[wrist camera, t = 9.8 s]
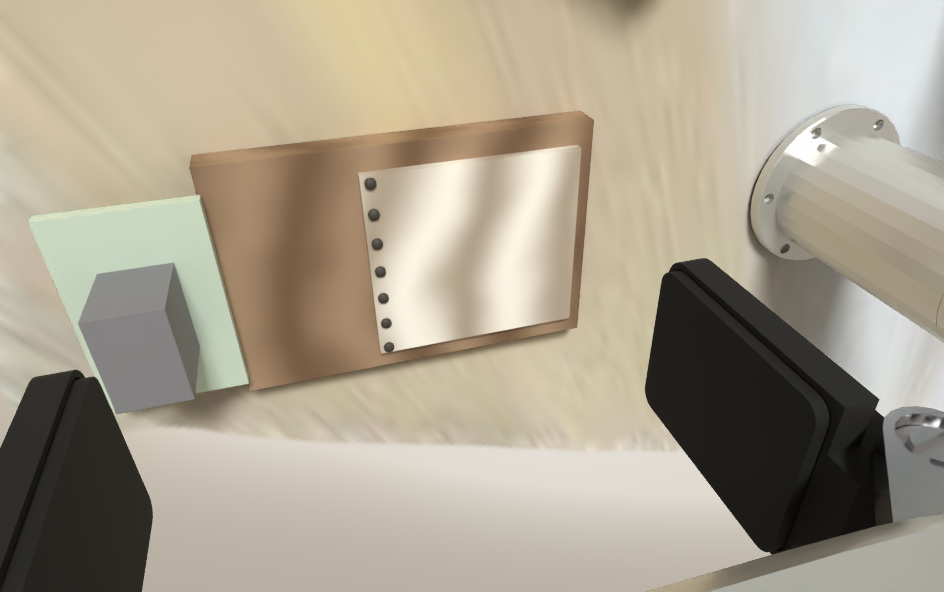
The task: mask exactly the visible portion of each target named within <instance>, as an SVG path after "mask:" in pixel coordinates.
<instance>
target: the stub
mask: <svg viewBox="0 0 944 592" xmlns="http://www.w3.org/2000/svg"><path fill="white" fill-rule="evenodd" d="M28 224H29V226H30V228H31V231H32V233H33V235H34V238H35V240H36V242H37V245H38V247H39V249H40V251H41V254H42V256H43V258H44V261H45V263H46V265H47V268H48V270H49V272H50V274H51V277H52V279H53V281H54V284H55V286H56V288H57V291H58V293H59V295H60V298H61V300H62V302H63V304H64V307H65V309H66V311H67V314H68V316H69V318H70V321H71V323H72V325H73V327H74V330H75V332H76V334H77V337H78V339H79V341H80V344H81V346H82V348H83V351H84V353H85V355H86V357H87V360H88V362H89V364H90V367H91V369H92V371H93V374H94V376H95V377H96V378H97V379H98V381H99V382H100V384H101V386H102V389H103V391H104V393H105V396H106V398H107V400H108V403H109V405H110V407H111V409H112V410H113V409H115V412H116V414H121V413H126V412H131V411H137V410H142V409H147V408H152V407H157V406H162V405H168V404H173V403H178V402H183V401H188V400H194V399H195V394H197V393H202V392H207V391H212V390H218V389H223V388H228V387H233V386H239V385H244V384H249V375H248V371H247V367H246V363H245V360H244V356H243V352H242V348H241V345H240V341H239V337H238V334H237V330H236V326H235V322H234V319H233V315H232V311H231V307H230V304H229V300H228V296H227V293H226V289H225V285H224V281H223V278H222V274H221V270H220V266H219V263H218V259H217V255H216V251H215V248H214V244H213V240H212V237H211V233H210V229H209V225H208V222H207V218H206V214H205V210H204V207H203V203H202V199H201V196H200V195H194V196H186V197H178V198H170V199H162V200H155V201H147V202H139V203H131V204H123V205H115V206H107V207H99V208H92V209H84V210H76V211H68V212H60V213H52V214H44V215H36V216H32V217H31V219H30V220H29V222H28Z"/></svg>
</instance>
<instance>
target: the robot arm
mask: <svg viewBox="0 0 944 592" xmlns="http://www.w3.org/2000/svg"><path fill="white" fill-rule="evenodd" d="M750 214H751V223H752V228H753V231H754V233H755V236H756V238H757V239H758V240H759V242H760V243H761V245H763V246H764V247H765V248H766V249H768V250H769V251H770V252H772V253H773V254H775V255H776V256H778V257H780V258H784V259H788V260H807V259H812V258H817V259H819V260H820V261H822V262H823V263H825V264H826V265H828V266H829V267H831V268H832V269H834V270H835V271H837V272H838V273H840V274H841V275H843V276H844V277H846V278H847V279H849V280H850V281H852V282H853V283H855V284H856V285H858V286H859V287H861V288H862V289H864V290H865V291H867V292H868V293H870V294H871V295H873V296H874V297H876V298H877V299H879V300H880V301H882V302H884V303H885V304H887V305H888V306H890V307H891V308H893V309H894V310H896V311H897V312H899V313H900V314H902V315H903V316H905V317H906V318H908V319H909V320H911V321H912V322H914V323H915V324H917V325H918V326H920V327H921V328H923V329H924V330H926V331H927V332H929V333H930V334H932V335H933V336H935V337H936V338H938V339H939V340H941V341H943V342H944V163H943V162H942V161H940V160H936V159H933V158H931V157H928V156H926V155H923V154H921V153H918V152H916V151H913V150H911V149H908V148H906V147H903V146H901V145H900V142H899V135H898V133H897V131H896V128H895V126H894V124H893V123H892V122H891V121H890V120H889V118H888V117H887V116H885V115H883V114H882V113H880V112H879V111H876V110H874V109H871V108H868V107H865V106H859V105H844V106H837V107H834V108H831V109H828V110H825V111H823V112H821V113H819V114H817V115H815V116H813V117H811V118H810V119H808V120H807V121H805V122H804V123H803V124H801V125H800V126H799V127H797V128H796V129H795V130H794V131H793V132H792V133H790V134H789V135H788V136H787V137H786V138H785V139H784V140H783V141H782V142H781V144H780V145H779V146H778V147H777V149H776V150H775V151H774V152H773V154H772V155H771V156H770V158H769V160H768V161H767V163H766V165H765V166H764V168H763V169H762V172H761V174H760V176H759V178H758V181H757V183H756V186H755V189H754V193H753V197H752V202H751V212H750ZM645 394H646V398H647V401H648V403H649V405H650V407H651V408H652V409H653V411H654V412H655V413H656V415H657V416H658V417H659V419H660V420H661V421H662V423H663V424H664V425H665V427H666V428H667V429H668V430H669V432H670V433H671V434H672V436H673V437H674V438H675V440H676V441H677V442H678V444H679V445H680V446H681V447H682V449H683V450H684V451H685V453H686V454H687V455H688V457H689V458H690V459H691V461H692V462H693V463H694V464H695V466H696V467H697V468H698V470H699V471H700V472H701V474H702V475H703V476H704V478H705V479H706V480H707V481H708V483H709V484H710V485H711V487H712V488H713V489H714V491H715V492H716V493H717V495H718V496H719V497H720V498H721V500H722V501H723V502H724V504H725V505H726V506H727V508H728V509H729V510H730V512H732V514H733V515H734V517H735V518H736V519H737V521H738V522H739V523H740V525H741V526H742V527H743V529H744V530H745V531H746V532H747V534H748V535H749V536H750V538H751V539H752V540H753V542H754V543H755V544H756V545H757V546H758V548H760V549H761V550H762V551H765V552H770V553H771V554H772V555H770V556H767V557H763V558H759V559H756V560H753V561H749V562H746V563H743V564H739V565H736V566H732V567H729V568H726V569H722V570H719V571H715V572H712V573H708V574H705V575H701V576H698V577H695V578H691V579H688V580H685V581H681V582H678V583H674V584H671V585H667V586H664V587H660V588H657V589H654V590H651V591H647V592H944V412H942V411H939V410H936V409H931V408H924V407H917V406H915V407H901V408H899V409H896V410H893V411H891V412H890V413H889V414H888V415H887V416H886V417H885V418H884V417H883V416H882V415H881V414H879V413H878V412H877V411H876V410H875V409H876V406H877V404H878V401H879V399H878V398H877V397H876V396H875V395H873V394H872V393H871V392H870V391H869V390H867V389H866V388H865V387H864V386H862V385H861V384H860V383H859V382H858V381H856V380H855V379H854V378H853V377H852V376H850V375H849V374H848V373H847V372H845V371H844V370H843V369H842V368H841V367H839V366H838V365H837V364H836V363H835V362H833V361H832V360H831V359H830V358H828V357H827V356H826V355H825V354H824V353H822V352H821V351H820V350H819V349H817V348H816V347H815V346H814V345H813V344H811V343H810V342H809V341H808V340H807V339H805V338H804V337H803V336H802V335H800V334H799V333H798V332H797V331H796V330H794V329H793V328H792V327H791V326H789V325H788V324H787V323H786V322H785V321H783V320H782V319H781V318H780V317H779V316H777V315H776V314H775V313H774V312H772V311H771V310H770V309H769V308H768V307H766V306H765V305H764V304H763V303H761V302H760V301H759V300H758V299H757V298H755V297H754V296H753V295H752V294H751V293H749V292H748V291H747V290H746V289H744V288H743V287H742V286H741V285H740V284H738V283H737V282H736V281H735V280H733V279H732V278H731V277H730V276H729V275H727V274H726V273H725V272H724V271H723V270H721V269H720V268H719V267H718V266H716V265H715V264H714V263H713V262H712V261H710V260H708V259H706V258H701V259H696V260H690V261H685V262H679V263H675V264H674V265H672V267H671V268H670V271H669V272H668V273H666V274H665V275H664V276H663V278H662V282H661V289H660V295H659V301H658V308H657V314H656V320H655V327H654V333H653V340H652V346H651V352H650V359H649V365H648V371H647V378H646V384H645ZM152 519H153V512H152V505H151V500H150V497H149V495H148V492H147V490H146V488H145V485H144V483H143V481H142V479H141V476H140V474H139V472H138V469H137V467H136V465H135V462H134V460H133V458H132V455H131V453H130V451H129V449H128V446H127V444H126V442H125V439H124V437H123V435H122V432H121V430H120V428H119V426H118V423H117V421H116V419H115V416H114V414H113V412H112V409H111V407H110V405H109V403H108V400H107V398H106V396H105V393H104V391H103V389H102V386H101V384H100V382H99V381H98V379H97V378H96V377H88V378H85V377H84V375H83V374H82V373H81V372H80V371H78V370H72V371H66V372H60V373H55V374H49V375H44V376H38V377H34V378H32V379H31V381H30V382H29V384H28V386H27V389H26V391H25V393H24V395H23V398H22V400H21V402H20V404H19V407H18V409H17V411H16V414H15V416H14V418H13V421H12V423H11V425H10V427H9V429H8V432H7V434H6V436H5V439H4V441H3V443H2V445H1V448H0V592H142V585H143V580H144V573H145V567H146V560H147V553H148V547H149V540H150V533H151V527H152Z"/></svg>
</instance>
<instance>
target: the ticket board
mask: <svg viewBox="0 0 944 592" xmlns="http://www.w3.org/2000/svg"><path fill="white" fill-rule="evenodd" d="M593 124H594V120H593V119H592V118H590V117H589V116H587V115H586V114H584V113H583V112H581V111H576V112H567V113H558V114H549V115H541V116H532V117H523V118H514V119H505V120H497V121H488V122H479V123H470V124H462V125H453V126H444V127H435V128H426V129H418V130H409V131H400V132H391V133H382V134H374V135H365V136H356V137H347V138H339V139H330V140H321V141H312V142H303V143H295V144H286V145H277V146H268V147H259V148H251V149H242V150H233V151H224V152H216V153H207V154H198V155H192V158H191V162H190V167H189V168H190V172H191V175H192V179H193V183H194V186H195V190H196V194H197V195H200V196H201V199H202V203H203V207H204V210H205V214H206V218H207V222H208V225H209V229H210V233H211V237H212V240H213V244H214V248H215V251H216V255H217V259H218V263H219V266H220V270H221V274H222V278H223V281H224V285H225V289H226V293H227V296H228V300H229V304H230V307H231V311H232V315H233V319H234V322H235V326H236V330H237V334H238V337H239V341H240V345H241V348H242V352H243V356H244V360H245V363H246V367H247V371H248V375H249V384H248V385H249V389H250V391H253V390H258V389H263V388H268V387H273V386H279V385H284V384H289V383H294V382H299V381H304V380H309V379H315V378H320V377H325V376H330V375H335V374H340V373H346V372H351V371H356V370H361V369H366V368H371V367H377V366H382V365H387V364H392V363H397V362H402V361H408V360H413V359H418V358H423V357H428V356H433V355H439V354H444V353H449V352H454V351H459V350H464V349H469V348H475V347H480V346H485V345H490V344H495V343H500V342H506V341H511V340H516V339H521V338H526V337H531V336H537V335H542V334H547V333H552V332H557V331H562V330H568V329H573V328H577V322H578V310H579V298H580V285H581V273H582V261H583V248H584V236H585V223H586V211H587V199H588V186H589V174H590V162H591V149H592V137H593Z"/></svg>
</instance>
